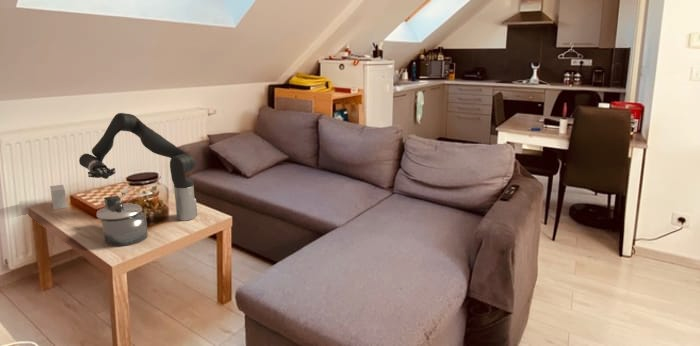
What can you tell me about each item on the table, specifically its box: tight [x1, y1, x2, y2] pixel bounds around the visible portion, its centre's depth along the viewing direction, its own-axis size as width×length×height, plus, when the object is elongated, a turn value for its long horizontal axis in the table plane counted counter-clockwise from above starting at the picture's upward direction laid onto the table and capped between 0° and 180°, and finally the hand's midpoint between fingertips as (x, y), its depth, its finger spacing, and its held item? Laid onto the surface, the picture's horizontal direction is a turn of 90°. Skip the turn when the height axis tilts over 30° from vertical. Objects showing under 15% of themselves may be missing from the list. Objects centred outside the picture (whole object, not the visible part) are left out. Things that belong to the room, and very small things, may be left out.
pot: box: [101, 211, 149, 247], centre depth 212 cm, size 18×18×10 cm
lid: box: [96, 195, 143, 221], centre depth 217 cm, size 19×24×4 cm
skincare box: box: [49, 184, 68, 210], centre depth 250 cm, size 10×6×10 cm, turn 35°
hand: (106, 176), depth 225 cm, fingers closed
